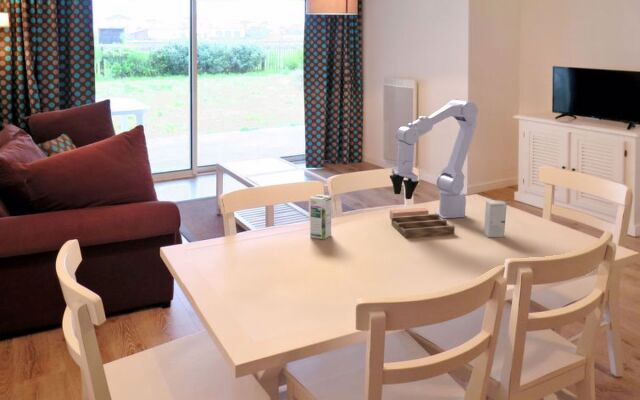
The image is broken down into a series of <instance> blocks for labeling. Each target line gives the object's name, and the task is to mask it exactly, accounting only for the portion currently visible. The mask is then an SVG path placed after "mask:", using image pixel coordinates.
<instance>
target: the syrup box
mask: <svg viewBox="0 0 640 400" xmlns="http://www.w3.org/2000/svg"><path fill="white" fill-rule="evenodd" d="M309 227H310V228H309V230H310V231H309V235H310V236H309V237H310V238H313V239H320V240H323V241H324V240H326V239H328V238H329V237H331V235H332V195H324V194H317V193H316V194H315V195H312V196H310V198H309Z"/></svg>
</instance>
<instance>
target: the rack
mask: <svg viewBox="0 0 640 400" xmlns="http://www.w3.org/2000/svg"><path fill="white" fill-rule="evenodd" d="M390 220H391V219H390ZM391 226H392V227H393V228H394V229H396V230H397V232H398V233H400V234H401V236H403V237H404V238H405V239H411V238H413V239H414V238H423V237H424V238H425V237H437V236H449V235H455V225H453V224H452V225H450V224H449V223H448V222H447V218H441V217H440V216H439V214H436V213H428V214H427V215H413V216H399V217H392V220H391Z"/></svg>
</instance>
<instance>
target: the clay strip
mask: <svg viewBox="0 0 640 400" xmlns="http://www.w3.org/2000/svg"><path fill="white" fill-rule="evenodd" d="M429 212H430V211H429V210H428V208H426V207H417V208H416V207H415V208H401V209H390V210H389V219H390V220H392V217H399V216H413V215H427V214H430V213H429Z"/></svg>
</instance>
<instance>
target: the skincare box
mask: <svg viewBox="0 0 640 400" xmlns="http://www.w3.org/2000/svg"><path fill="white" fill-rule="evenodd" d="M507 206H508V205H507V202H505V201H503V200H486V202H485V211H484V213H485V214H484V227H483V234H484V235H485V236H486V237H487V238H503V237H505V232H506V231H505V229H506V216H507V208H508V207H507Z"/></svg>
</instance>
